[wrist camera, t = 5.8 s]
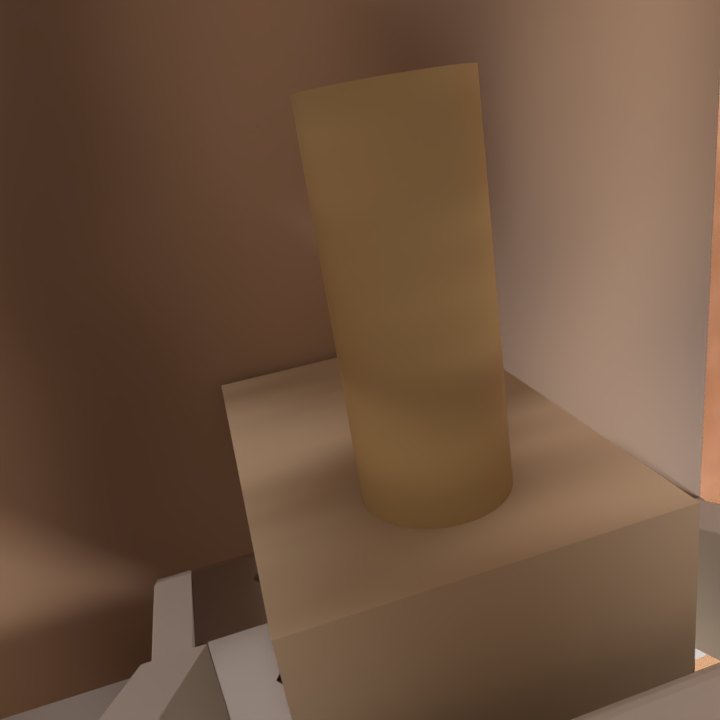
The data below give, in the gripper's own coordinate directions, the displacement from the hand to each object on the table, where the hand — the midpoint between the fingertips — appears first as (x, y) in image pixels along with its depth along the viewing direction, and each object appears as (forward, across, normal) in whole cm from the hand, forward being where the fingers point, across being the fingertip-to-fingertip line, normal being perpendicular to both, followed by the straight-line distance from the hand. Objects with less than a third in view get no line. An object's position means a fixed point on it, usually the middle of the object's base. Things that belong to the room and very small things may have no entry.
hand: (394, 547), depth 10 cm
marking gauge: (+2, 0, -2) cm, 3 cm away
